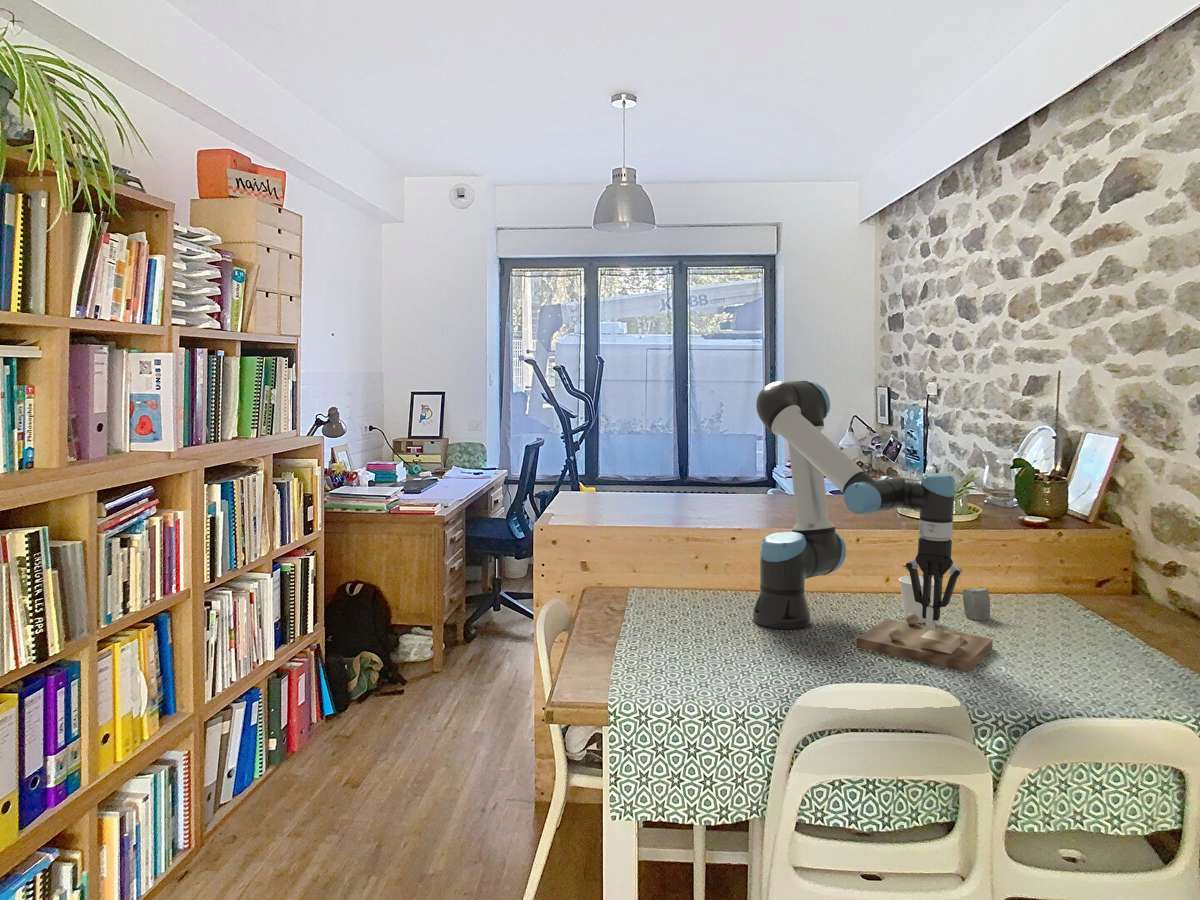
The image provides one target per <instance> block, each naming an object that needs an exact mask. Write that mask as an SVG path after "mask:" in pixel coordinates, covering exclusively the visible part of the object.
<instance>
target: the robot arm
mask: <svg viewBox="0 0 1200 900" xmlns="http://www.w3.org/2000/svg"><path fill="white" fill-rule="evenodd" d="M755 403H756V405H755V406H756V412H757V416H758V417H759V419H760V420H761V422H762V424H763V425H764V426H765V427H766V428H767V429H768V430H769V432H771V433H772V434H773V435H776V436H781V437H782V438H783V439H785V440H786V441H787V443H788V451H789V452H788V453H789V460H790V470H791V471H790V472H791V479H792V481H791V482H792V490H793V498H794V499H793V500H794V507H795V509H794V510H795V516H796V517H795V518H796V523H795V524H794V525H793V527H792V528H791V530H792V531H783V532H780V531H779V532H773V533H771V534H768V535H766V536H765V537H763V539H762V540H761V545H760V553H759V554H760V555H759V556H760V566H759V567H760V569H759V571H760V573H759V575H760V576H759V577H760V578H759V579H760V582H759V585H760V586H759V594H758V595H757V599H756V603H755V605H754V607H753V609H752V610H753V612H752V621H754V623H756V624H757V625H759V626H762V627H765V628H766V627H767V628H771V629H777V630H797V629H798V630H799V629H803V628H806V627H808V626H809V625H810V624H811V612H810V610H809V605H808V603H807V602H808V601H807V599H806V596H805V587H806V585H805V584H806V579H810V578H814V577H815V578H816V577H819V576H827V575H829V574H831V573H834V572H836V571H837V570H839V569H840V568H841V567H842V566H843V564H844V562H845V559H846V556H847V548H846V542H845V540H844V539H843V538H842V537H841V535H840V534H839V533H838V532H836V526H835V524H834V523H833V522H832V521H830V519H829V511H828V504H827V494H826V493H827V492H826V484H825V478H826V479H827V480H828V481H830V482H831V484H832V485H834V486H835V487H836V488H837V489H838V490H839V491H840V492H841V493H842V494H843V501H844V503H845V506H846V508H847V509H848V510H849V511H850V512H851V513H853V514H857V515H866V514H867V515H868V514H869V515H871V514H873V513H876V512H881V511H882V512H883V511H890V510H896V509H907V510H908V509H909V510H914V511H919V524H918V525H919V526H918V535H919V537H918V542H917V555H916V556H915V559H913V560H910V561H907V562H906V563H905V567H906V569H907V570H908V572H909V576H910V577H911V583H912V588H913V593H914V598H915V601H916V602H919V603H921V604H922V606H923V608H922V617H923V618H924V619H926V623H925V626H926V629H925V633H926V632H928V631H929V630H934V631H935V628H936V622H937V621H939V620H940V619H941V608H946V607H947V606H948V605H949V604H950V602H951V598H952V595H953V593H954V589H955V587H956V583H957V580H958V578H959V576H960V575H962V573H963V569H962V568H958V567H956V566H955V565H954V561H953V559H952V550H953V548H952V547H953V541H952V539H951V538H953V528H954V527H953V526H954V521H953V520H954V507H955V497H956V491H955V490H956V487H955V484H956V483H955V478H954V476H953V475H951V474H949V473H937V472H926V473H923V474H922V475H921V479H914V478H908V477H900V476H897V475H881V476H880V477H879V478H878V479H876V480H875V479H874V478H873V477H871V476H870V474H869V473H867V472H866V471H865V470H864V469H862V468H861V467H860V466H859V465H858V464H857V463H856V462H855V461H854V460H852V458H850V457H849V456H848V455H847V454H846V453H845V452H844V451H843V450H841V449H840V448H839V447H838V446H837V445H836V444H835V443H834V442H832V441H831V439H830V438H828V437H827V436H826V435H825V434H824V433H823V432H821V431H822V430H824V428H825V424H824V423H825V422H824V420H825V419H826V418H827V417H828V414H829V413H830V410H831V400H830V397H829V394H828V392H827V390H826V389H825V388H824V387H823V386H822V385H820V384H819V383H818V382H814V381H808V380H791V381H788V380H787V381H783V380H782V381H781V380H779V381H772V382H770V383H768V384H767V385H765V386H764V387H763V388H762V389H761V390H760V392H759V393H758V395H757V398H756V401H755ZM918 567H919V568H920V570H921V572H922V577H923V596H922V590H921V585H920V580H919V576H920V575H919V571H918ZM948 570H950V571H949V575H950V576H949V578H948V582H947V584H946V588H945V590H944V594H943V579H944V575H945V574H946V573H947V572H948ZM932 579H934V598H933V603H932V605H930V603H931V602H930V598H931V581H932ZM942 595H943V596H942Z"/></svg>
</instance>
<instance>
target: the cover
mask: <svg viewBox="0 0 1200 900" xmlns="http://www.w3.org/2000/svg"><path fill="white" fill-rule="evenodd" d="M959 646H960V636H959V635H954V634H949V633H944V632H939V631H934V630H929V631H928V632H926V633H925V634H924V635H922V636H921V637H920V648H925V649H930V650H935V651H939V652H944V653H949V654H951V653H953V652H954V651H955V650H956V649H957V648H958V647H959Z"/></svg>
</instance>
